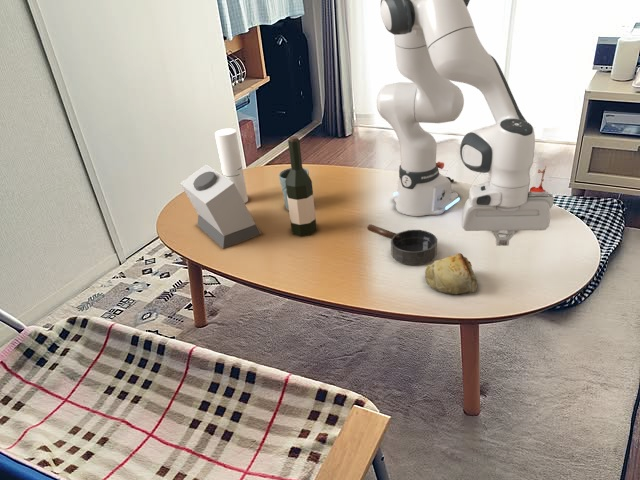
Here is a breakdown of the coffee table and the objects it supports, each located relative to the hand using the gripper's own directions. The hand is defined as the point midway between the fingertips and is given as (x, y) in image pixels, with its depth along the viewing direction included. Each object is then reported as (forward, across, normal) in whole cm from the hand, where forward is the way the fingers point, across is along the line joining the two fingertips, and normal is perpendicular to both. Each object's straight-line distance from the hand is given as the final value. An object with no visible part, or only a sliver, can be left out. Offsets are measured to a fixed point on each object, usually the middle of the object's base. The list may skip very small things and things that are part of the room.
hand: (502, 244), depth 139 cm
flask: (+12, -5, -30) cm, 33 cm away
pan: (+12, +22, -15) cm, 29 cm away
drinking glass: (+12, +62, -49) cm, 79 cm away
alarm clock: (+12, +83, -31) cm, 89 cm away
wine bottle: (+12, +56, -31) cm, 65 cm away
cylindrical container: (+12, +84, -54) cm, 101 cm away
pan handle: (+9, +31, -22) cm, 39 cm away
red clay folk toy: (+11, -15, -39) cm, 43 cm away
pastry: (+12, +12, 0) cm, 17 cm away
